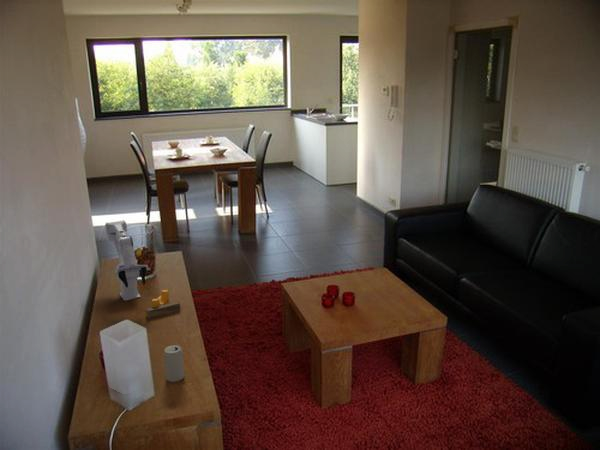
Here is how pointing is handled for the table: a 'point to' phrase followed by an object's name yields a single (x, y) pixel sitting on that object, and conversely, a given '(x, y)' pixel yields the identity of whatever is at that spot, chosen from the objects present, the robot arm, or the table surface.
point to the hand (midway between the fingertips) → (135, 285)
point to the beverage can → (174, 363)
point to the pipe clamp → (161, 299)
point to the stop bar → (163, 309)
